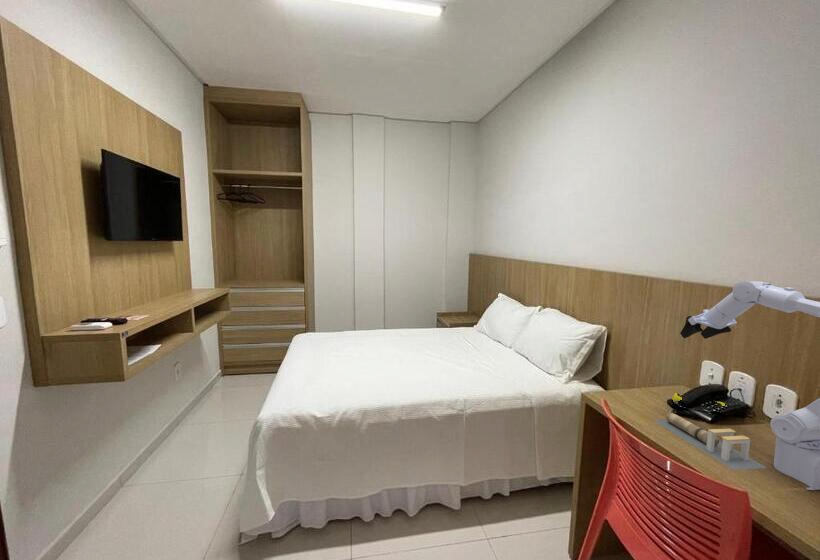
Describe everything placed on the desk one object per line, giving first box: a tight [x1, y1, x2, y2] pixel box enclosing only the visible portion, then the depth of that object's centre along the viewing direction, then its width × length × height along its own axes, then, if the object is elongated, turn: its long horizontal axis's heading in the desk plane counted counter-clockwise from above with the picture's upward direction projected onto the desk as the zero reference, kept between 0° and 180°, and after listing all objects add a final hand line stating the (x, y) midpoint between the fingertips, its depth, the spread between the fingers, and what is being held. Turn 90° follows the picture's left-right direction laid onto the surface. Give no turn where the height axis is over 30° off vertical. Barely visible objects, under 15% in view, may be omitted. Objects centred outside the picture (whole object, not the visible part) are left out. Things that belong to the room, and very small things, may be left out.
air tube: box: [665, 412, 720, 447], centre depth 101 cm, size 14×3×3 cm, turn 6°
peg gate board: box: [652, 419, 768, 471], centre depth 97 cm, size 25×10×7 cm, turn 6°
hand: (692, 335), depth 110 cm, fingers open, 7 cm apart
